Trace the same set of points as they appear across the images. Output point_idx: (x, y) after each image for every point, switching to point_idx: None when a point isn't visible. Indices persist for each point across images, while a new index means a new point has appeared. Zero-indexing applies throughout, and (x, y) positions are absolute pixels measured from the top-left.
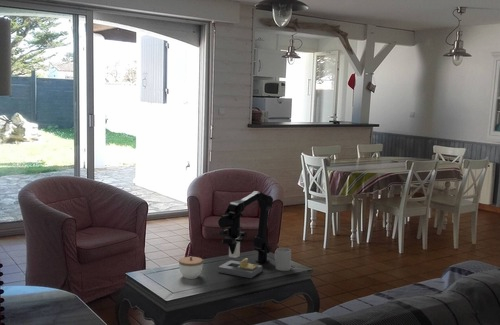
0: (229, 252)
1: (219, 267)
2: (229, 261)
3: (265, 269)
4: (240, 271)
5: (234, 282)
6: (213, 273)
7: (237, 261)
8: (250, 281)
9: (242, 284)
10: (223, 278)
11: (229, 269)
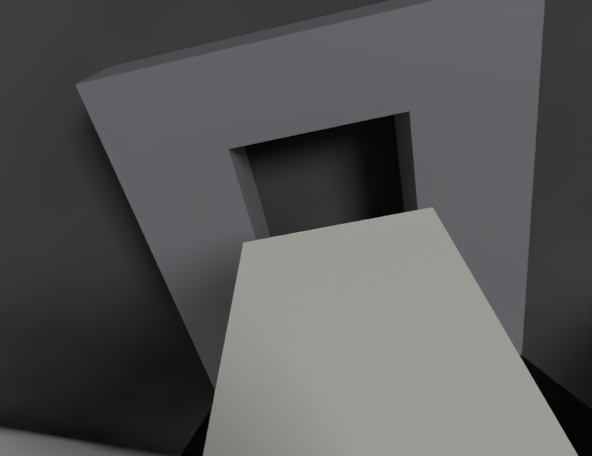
0: (236, 324)
1: (88, 102)
2: (456, 21)
3: (556, 373)
4: (212, 373)
5: (55, 384)
6: (11, 52)
7: (531, 133)
8: (188, 441)
9: (85, 438)
10: (24, 264)
11: (160, 256)
